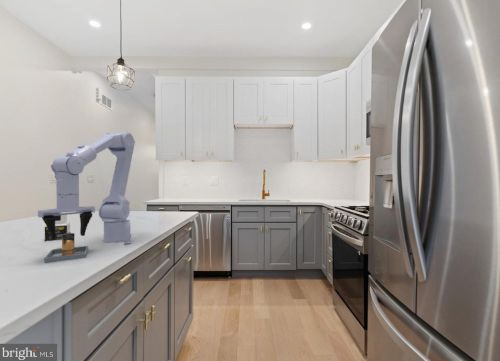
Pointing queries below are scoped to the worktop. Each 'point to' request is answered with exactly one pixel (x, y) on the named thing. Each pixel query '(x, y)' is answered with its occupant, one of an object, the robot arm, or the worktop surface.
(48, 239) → the medicine bottle
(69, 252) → the cell
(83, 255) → the tray
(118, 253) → the worktop surface
